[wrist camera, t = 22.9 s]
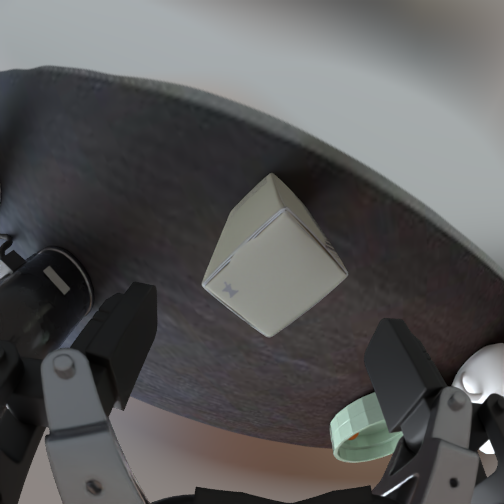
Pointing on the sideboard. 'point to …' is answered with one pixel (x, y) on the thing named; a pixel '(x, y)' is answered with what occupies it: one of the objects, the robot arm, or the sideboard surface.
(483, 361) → the teapot
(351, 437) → the ball
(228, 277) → the box
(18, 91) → the sideboard surface
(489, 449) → the geometric shape
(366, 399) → the bowl
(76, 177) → the sideboard surface
